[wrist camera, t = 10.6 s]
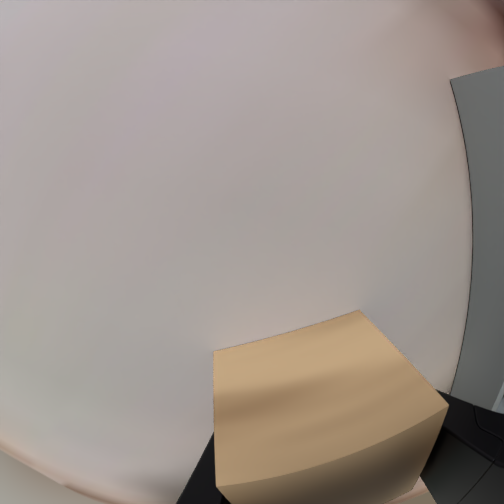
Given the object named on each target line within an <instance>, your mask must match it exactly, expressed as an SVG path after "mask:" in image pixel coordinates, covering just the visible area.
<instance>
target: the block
mask: <svg viewBox="0 0 504 504" xmlns="http://www.w3.org/2000/svg"><path fill="white" fill-rule="evenodd" d="M213 388H214V446H215V474H216V487H217V488H218V489H219V491H220V492H221V493H222V494H223V495H224V496H225V497H226V498H227V500H228V501H229V502H230V503H231V504H384V503H386V502H388V501H391V500H393V499H395V498H397V497H399V496H401V495H403V494H405V493H407V492H409V491H411V490H412V489H413V487H414V485H415V483H416V481H417V479H418V478H419V476H420V474H421V472H422V470H423V468H424V466H425V464H426V461H427V459H428V457H429V455H430V453H431V451H432V448H433V446H434V444H435V441H436V439H437V436H438V434H439V431H440V429H441V426H442V424H443V421H444V418H445V415H446V413H447V410H448V407H449V404H448V403H447V402H446V401H445V400H444V399H443V398H442V397H441V395H440V394H439V393H438V392H437V391H436V390H435V389H434V388H433V387H432V386H431V384H430V383H429V382H428V381H427V380H426V379H425V378H424V377H423V376H422V375H421V374H420V373H419V371H418V370H417V369H416V368H415V367H414V366H413V365H412V364H411V363H410V362H409V361H408V360H407V359H406V358H405V357H404V355H403V354H402V353H401V352H400V351H399V350H398V349H397V348H396V347H395V346H394V345H393V344H392V343H391V342H390V341H389V340H388V339H387V338H386V337H385V336H384V335H383V334H382V333H381V332H380V330H379V329H378V328H377V327H376V326H375V325H374V324H373V323H372V322H371V321H370V320H369V319H368V318H367V317H366V316H365V315H364V314H363V313H362V312H361V311H360V310H358V311H355V312H352V313H349V314H346V315H343V316H340V317H337V318H334V319H331V320H328V321H325V322H321V323H318V324H315V325H312V326H308V327H305V328H302V329H298V330H295V331H292V332H288V333H285V334H281V335H277V336H274V337H270V338H266V339H263V340H259V341H255V342H251V343H247V344H243V345H239V346H235V347H231V348H226V349H222V350H218V351H214V354H213Z"/></svg>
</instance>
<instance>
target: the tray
mask: <svg viewBox="0 0 504 504" xmlns="http://www.w3.org/2000/svg"><path fill="white" fill-rule="evenodd" d="M450 81H451V84H452V88H453V91H454V95H455V99H456V102H457V106H458V110H459V115H460V119H461V124H462V129H463V134H464V139H465V145H466V151H467V157H468V164H469V172H470V182H471V193H472V208H473V265H472V281H471V292H470V301H469V309H468V316H467V323H466V329H465V335H464V340H463V345H462V350H461V355H460V360H459V364H458V368H457V372H456V376H455V380H454V383H453V387H452V390H451V394H450V395H451V396H453V397H456V398H459V399H461V400H464V401H466V402H469V403H472V404H473V406H474V405H477V406H480V407H483V408H486V409H489V410H492V411H495V412H499V413H503V414H504V66H501V67H497V68H492V69H488V70H484V71H480V72H476V73H472V74H468V75H465V76H461V77H457V78H454V79H450Z"/></svg>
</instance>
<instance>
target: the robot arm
mask: <svg viewBox="0 0 504 504" xmlns="http://www.w3.org/2000/svg"><path fill="white" fill-rule="evenodd" d="M435 390H436V389H435ZM436 391H437V392H438V393H439V394H440V395H441V397H442V398H443V399H444V400H445V401H446V402H447V403H448V404H449V407H448V410H447V413H446V415H445V418H444V421H443V424H442V426H441V429H440V431H439V434H438V436H437V439H436V441H435V444H434V446H433V448H432V451H431V453H430V455H429V457H428V459H427V461H426V464H425V466H424V468H423V470H422V472H421V474H420V477H421V479H422V480H423V482H424V483H425V485H426V487H427V488H428V490H429V492H430V493H431V495H432V496H433V498H434V500H435V501H436V503H437V504H504V414H503V413H499V412H495V411H492V410H489V409H486V408H483V407H480V406H477V405H474V406H473V404H472V403H469V402H466V401H464V400H461V399H459V398H456V397H453V396H451V395H448V394H446V393H443V392H441V391H438V390H436ZM176 504H231V503H230V502H229V501H228V500H227V498H226V497H225V496H224V495H223V494H222V493H221V492H220V491H219V489H218V488H217V487H216V474H215V446H214V432H213V434H212V436H211V438H210V440H209V442H208V444H207V446H206V448H205V450H204V452H203V454H202V456H201V458H200V460H199V462H198V464H197V466H196V468H195V470H194V471H193V473H192V475H191V477H190V479H189V481H188V483H187V485H186V486H185V488H184V490H183V492H182V494H181V496H180V497H179V499H178V501H177V503H176Z"/></svg>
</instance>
